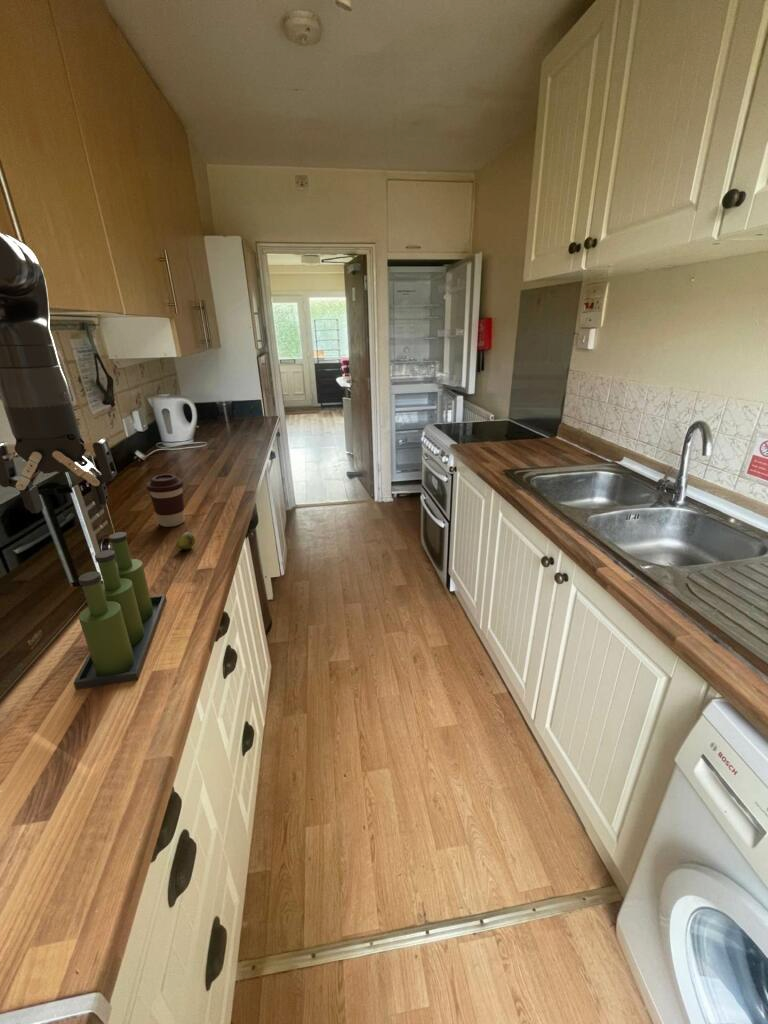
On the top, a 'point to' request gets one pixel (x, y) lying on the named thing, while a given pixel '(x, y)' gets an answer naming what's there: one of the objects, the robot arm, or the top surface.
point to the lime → (186, 541)
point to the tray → (140, 650)
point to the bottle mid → (120, 594)
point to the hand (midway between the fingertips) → (69, 509)
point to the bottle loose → (104, 629)
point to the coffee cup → (167, 499)
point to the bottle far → (132, 573)
